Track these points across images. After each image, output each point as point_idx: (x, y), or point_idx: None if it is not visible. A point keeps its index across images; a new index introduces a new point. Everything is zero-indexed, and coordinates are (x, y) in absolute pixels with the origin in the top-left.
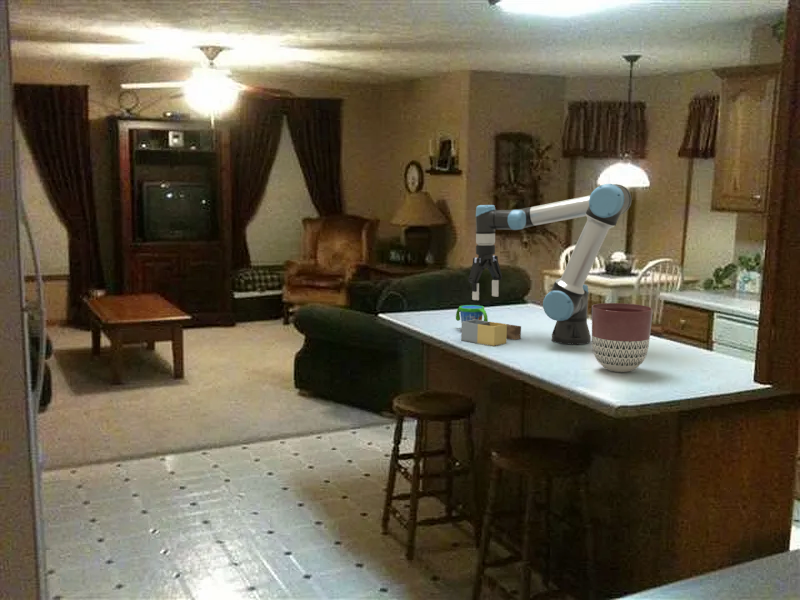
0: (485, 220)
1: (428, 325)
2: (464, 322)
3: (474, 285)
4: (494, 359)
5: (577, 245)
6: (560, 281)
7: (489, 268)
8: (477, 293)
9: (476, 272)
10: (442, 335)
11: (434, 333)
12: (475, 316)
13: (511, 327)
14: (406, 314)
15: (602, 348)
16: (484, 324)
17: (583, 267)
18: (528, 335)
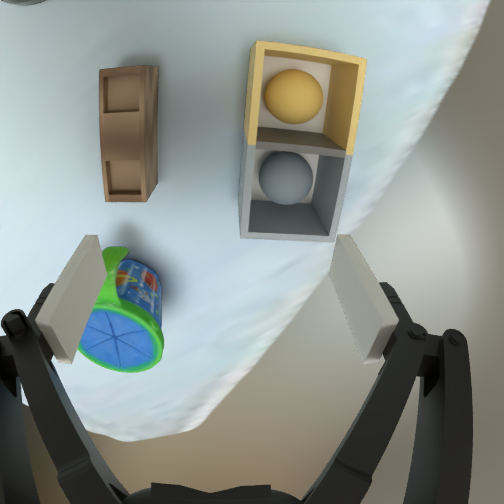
0: None
1: (175, 381)
2: (337, 227)
3: (409, 319)
4: (484, 4)
5: None
6: None
7: (108, 472)
8: (366, 266)
9: (456, 410)
10: (271, 295)
11: (259, 324)
12: (135, 293)
13: (145, 86)
14: (124, 436)
15: None
16: (303, 144)
17: None
18: (49, 95)
